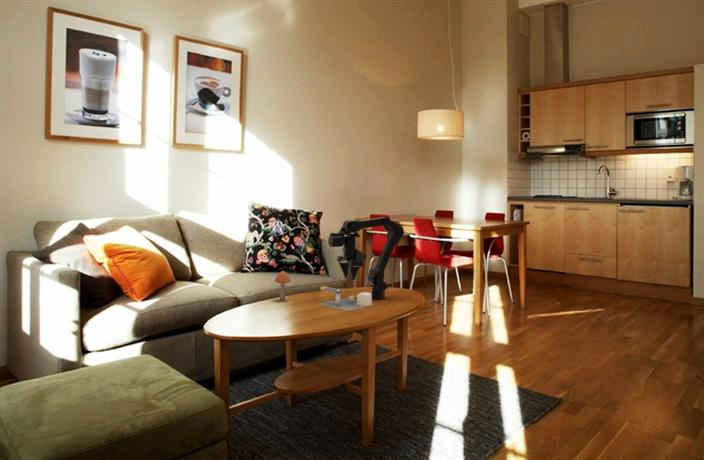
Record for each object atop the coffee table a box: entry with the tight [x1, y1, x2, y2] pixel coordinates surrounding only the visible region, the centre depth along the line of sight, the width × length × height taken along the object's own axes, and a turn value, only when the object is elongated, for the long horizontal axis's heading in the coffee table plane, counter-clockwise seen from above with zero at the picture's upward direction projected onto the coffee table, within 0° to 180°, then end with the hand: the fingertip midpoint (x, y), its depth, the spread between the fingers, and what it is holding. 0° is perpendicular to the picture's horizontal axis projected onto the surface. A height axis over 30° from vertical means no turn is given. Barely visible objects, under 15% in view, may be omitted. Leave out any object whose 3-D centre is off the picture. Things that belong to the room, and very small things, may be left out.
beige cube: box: [356, 291, 373, 305], centre depth 239 cm, size 5×5×5 cm
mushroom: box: [274, 270, 292, 302], centre depth 252 cm, size 8×8×15 cm
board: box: [318, 292, 376, 312], centre depth 240 cm, size 19×20×7 cm
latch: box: [320, 286, 343, 294], centre depth 240 cm, size 12×4×1 cm, turn 49°
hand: (349, 278), depth 246 cm, fingers open, 9 cm apart
